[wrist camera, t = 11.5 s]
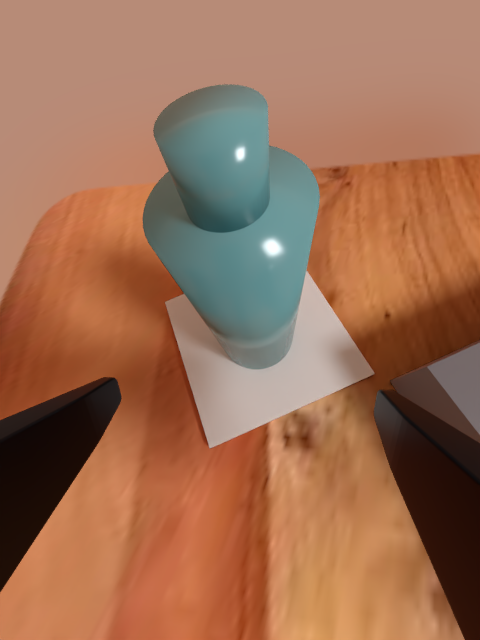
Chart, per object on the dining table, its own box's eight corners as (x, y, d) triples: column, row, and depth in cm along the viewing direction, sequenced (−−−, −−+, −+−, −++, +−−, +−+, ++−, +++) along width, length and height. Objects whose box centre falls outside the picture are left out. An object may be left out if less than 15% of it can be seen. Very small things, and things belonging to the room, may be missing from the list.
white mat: (211, 447, 15) (209, 448, 14) (166, 304, 19) (164, 301, 19) (372, 374, 15) (375, 373, 15) (291, 250, 20) (291, 247, 19)
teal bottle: (265, 384, 15) (231, 250, 3) (207, 342, 17) (50, 156, 5) (306, 324, 16) (384, 72, 5) (248, 290, 18) (197, 44, 6)
